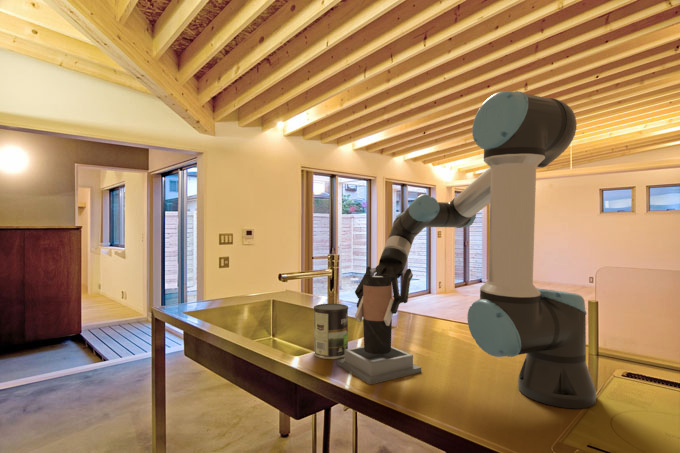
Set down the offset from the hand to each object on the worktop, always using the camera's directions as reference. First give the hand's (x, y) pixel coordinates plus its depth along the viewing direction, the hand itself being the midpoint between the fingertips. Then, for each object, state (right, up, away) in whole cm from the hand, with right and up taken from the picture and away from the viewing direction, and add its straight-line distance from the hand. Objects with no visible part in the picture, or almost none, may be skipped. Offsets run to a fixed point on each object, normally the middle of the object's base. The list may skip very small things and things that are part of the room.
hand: (371, 320), depth 99 cm
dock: (+2, -13, +3) cm, 14 cm away
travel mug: (+2, -9, +3) cm, 9 cm away
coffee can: (-11, -14, +15) cm, 23 cm away
